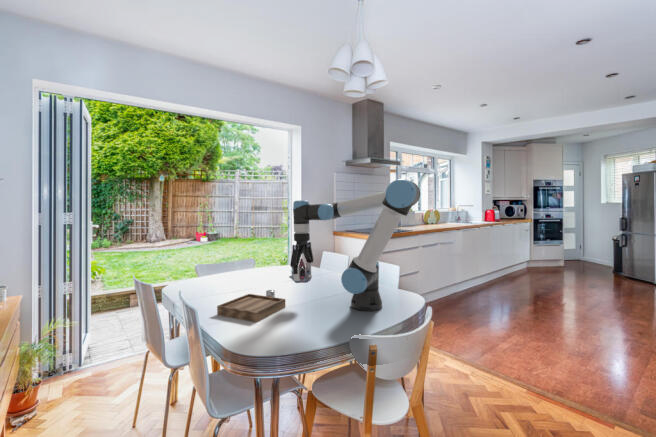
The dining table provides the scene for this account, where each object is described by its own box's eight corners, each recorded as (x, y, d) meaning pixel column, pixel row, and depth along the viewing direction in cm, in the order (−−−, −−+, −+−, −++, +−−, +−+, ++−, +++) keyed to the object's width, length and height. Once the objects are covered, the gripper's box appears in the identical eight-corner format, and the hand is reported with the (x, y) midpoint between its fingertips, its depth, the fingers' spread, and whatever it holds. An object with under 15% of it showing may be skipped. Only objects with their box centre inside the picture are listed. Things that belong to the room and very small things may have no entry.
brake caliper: (312, 279, 149) (296, 258, 150) (294, 292, 151) (279, 272, 152) (318, 274, 160) (303, 254, 161) (301, 286, 162) (287, 267, 164)
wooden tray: (285, 307, 156) (285, 299, 156) (256, 322, 136) (256, 312, 136) (249, 301, 165) (248, 293, 165) (217, 314, 145) (217, 305, 145)
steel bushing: (276, 299, 168) (276, 290, 168) (271, 302, 164) (271, 292, 164) (269, 299, 170) (269, 289, 170) (264, 301, 166) (264, 291, 166)
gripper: (306, 230, 167) (307, 272, 168) (281, 234, 146) (282, 282, 147) (319, 230, 164) (320, 273, 165) (295, 234, 143) (297, 284, 144)
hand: (302, 278), depth 156 cm, fingers closed on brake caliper, 11 cm apart
